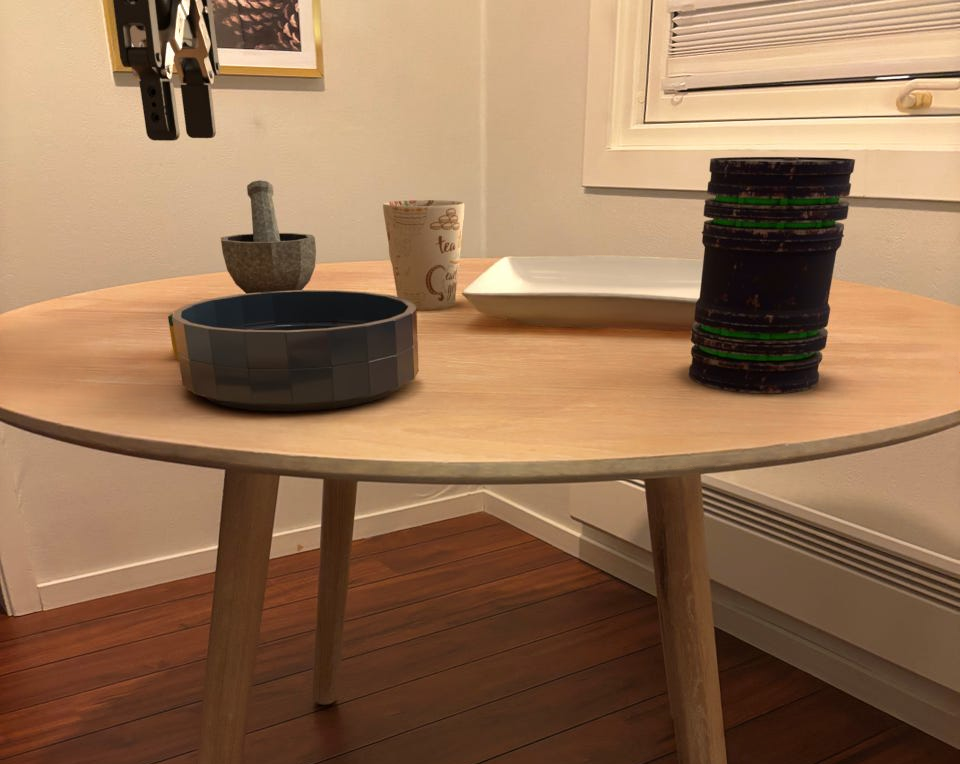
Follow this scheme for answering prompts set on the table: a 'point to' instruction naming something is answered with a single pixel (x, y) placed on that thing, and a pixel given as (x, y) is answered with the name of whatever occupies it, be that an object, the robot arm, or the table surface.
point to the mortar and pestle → (268, 250)
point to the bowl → (297, 348)
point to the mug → (425, 250)
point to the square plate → (591, 291)
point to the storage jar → (768, 271)
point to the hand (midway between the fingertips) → (183, 139)
